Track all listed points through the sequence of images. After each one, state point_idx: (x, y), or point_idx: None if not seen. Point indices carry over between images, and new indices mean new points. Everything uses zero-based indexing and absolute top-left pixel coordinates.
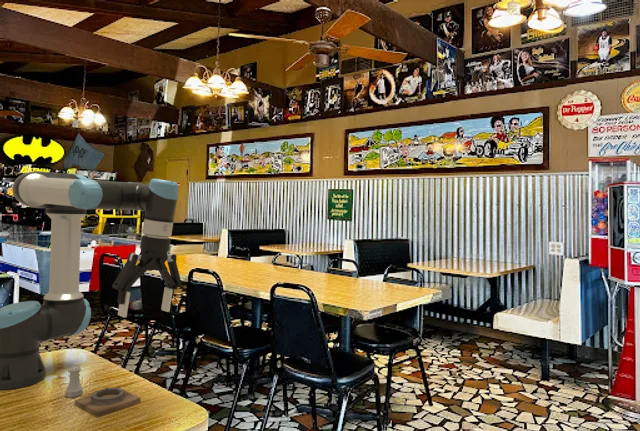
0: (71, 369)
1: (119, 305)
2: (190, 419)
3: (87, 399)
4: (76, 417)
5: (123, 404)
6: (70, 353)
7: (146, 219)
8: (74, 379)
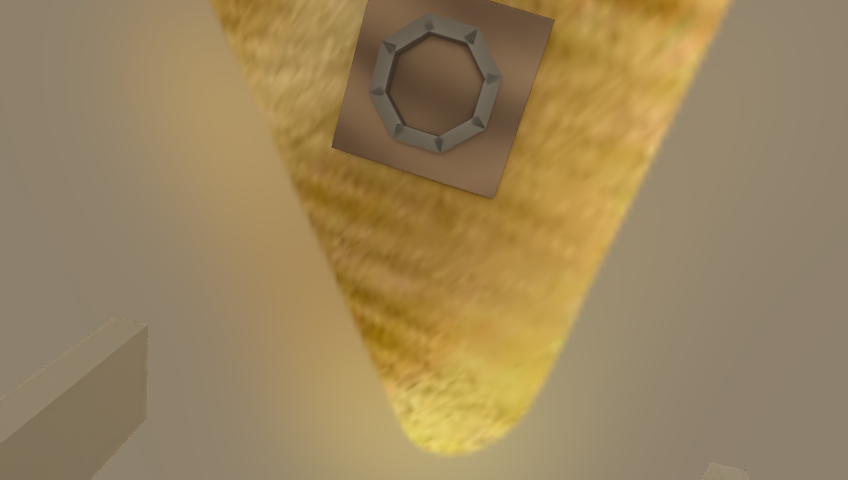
0: None
1: (19, 392)
2: (443, 428)
3: (400, 10)
4: (306, 77)
5: (425, 176)
6: None
7: None
8: None
